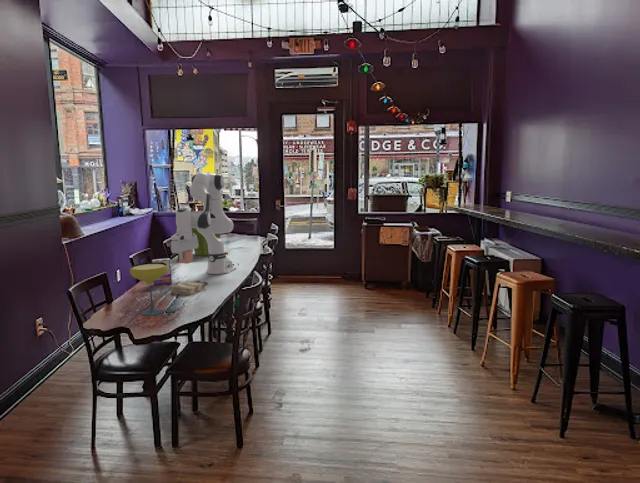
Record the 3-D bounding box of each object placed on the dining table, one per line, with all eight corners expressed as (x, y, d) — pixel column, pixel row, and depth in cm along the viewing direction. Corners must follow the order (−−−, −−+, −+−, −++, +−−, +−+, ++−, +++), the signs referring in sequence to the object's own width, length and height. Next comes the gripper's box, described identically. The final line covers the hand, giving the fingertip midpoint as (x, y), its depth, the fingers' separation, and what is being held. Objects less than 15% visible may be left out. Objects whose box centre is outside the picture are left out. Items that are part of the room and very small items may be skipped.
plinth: (187, 287, 284) (186, 280, 284) (204, 289, 278) (204, 282, 278) (171, 293, 272) (170, 286, 271) (189, 295, 266) (189, 288, 265)
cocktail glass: (174, 306, 245) (171, 261, 241) (164, 317, 227) (160, 269, 223) (141, 307, 245) (137, 262, 241) (128, 318, 227) (124, 270, 223)
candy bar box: (172, 282, 298) (170, 257, 295) (171, 284, 293) (170, 259, 290) (154, 283, 295) (152, 259, 292) (153, 285, 290) (151, 260, 287)
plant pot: (188, 252, 402) (186, 220, 397) (222, 249, 411) (220, 218, 406) (189, 258, 374) (186, 224, 369) (225, 256, 383) (223, 222, 378)
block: (185, 261, 276) (185, 249, 275) (193, 261, 273) (192, 250, 272) (179, 262, 271) (178, 251, 270) (186, 263, 268) (186, 252, 267)
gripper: (192, 232, 280) (193, 254, 282) (168, 237, 262) (170, 260, 264) (200, 233, 277) (201, 255, 280) (176, 238, 259) (178, 261, 261)
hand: (186, 258), depth 272 cm, fingers closed on block, 5 cm apart
